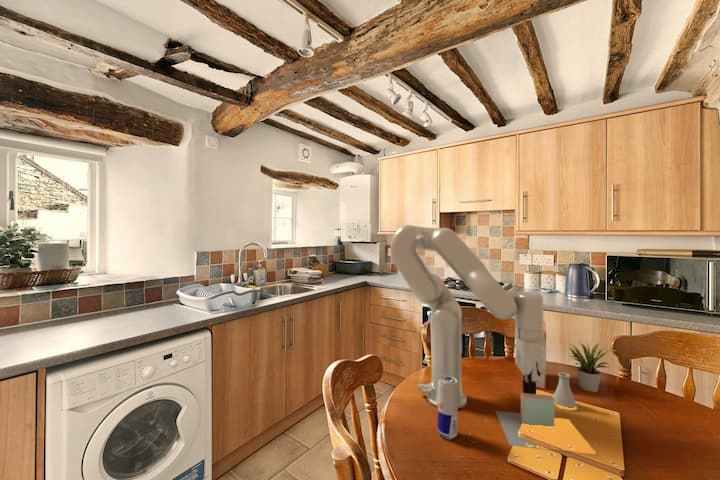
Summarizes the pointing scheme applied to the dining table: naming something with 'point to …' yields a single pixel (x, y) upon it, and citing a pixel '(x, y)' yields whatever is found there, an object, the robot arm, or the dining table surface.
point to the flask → (564, 392)
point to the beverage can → (447, 407)
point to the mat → (513, 428)
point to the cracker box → (543, 361)
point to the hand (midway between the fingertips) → (529, 394)
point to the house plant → (589, 367)
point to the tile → (537, 409)
